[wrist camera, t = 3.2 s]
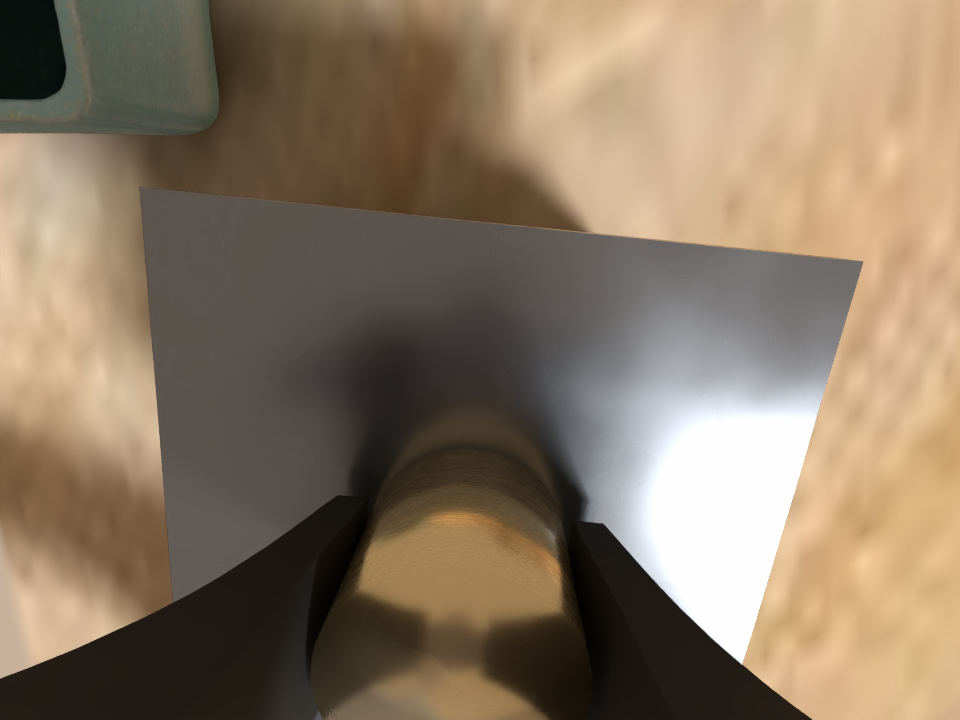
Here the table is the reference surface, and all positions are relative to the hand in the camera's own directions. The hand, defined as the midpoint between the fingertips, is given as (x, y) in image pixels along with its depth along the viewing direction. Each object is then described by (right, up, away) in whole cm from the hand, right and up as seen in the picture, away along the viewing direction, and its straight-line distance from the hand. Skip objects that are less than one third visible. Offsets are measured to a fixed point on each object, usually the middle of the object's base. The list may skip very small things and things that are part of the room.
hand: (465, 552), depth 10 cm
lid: (0, +1, +2) cm, 2 cm away
